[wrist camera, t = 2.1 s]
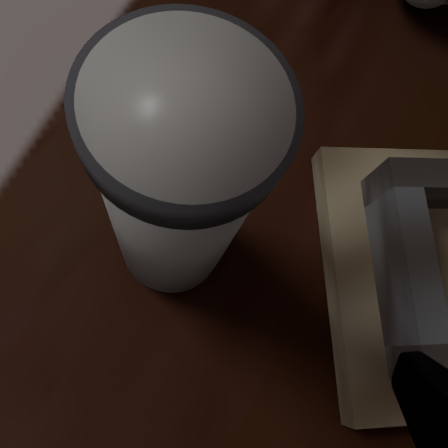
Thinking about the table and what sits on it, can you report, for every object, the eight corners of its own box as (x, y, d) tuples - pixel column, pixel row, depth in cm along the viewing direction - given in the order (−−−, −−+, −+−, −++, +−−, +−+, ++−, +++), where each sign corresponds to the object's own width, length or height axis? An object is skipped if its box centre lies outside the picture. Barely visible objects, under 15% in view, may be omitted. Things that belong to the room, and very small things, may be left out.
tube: (226, 295, 22) (316, 214, 9) (116, 298, 21) (55, 213, 8) (221, 195, 23) (293, 12, 11) (119, 194, 22) (72, -5, 10)
